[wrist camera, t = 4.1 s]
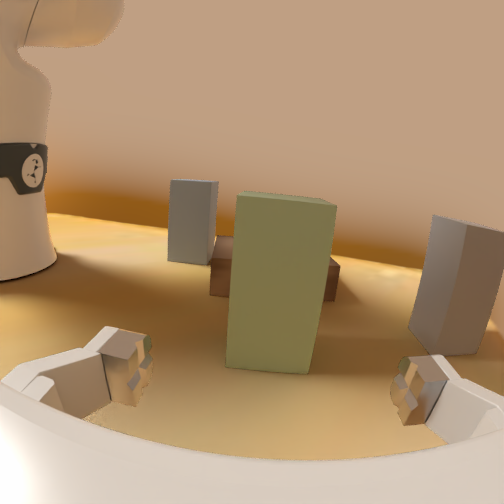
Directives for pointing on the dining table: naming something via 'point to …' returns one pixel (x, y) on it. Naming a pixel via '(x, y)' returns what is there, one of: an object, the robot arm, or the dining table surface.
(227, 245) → the walnut brick
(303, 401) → the dining table surface
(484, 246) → the grey block
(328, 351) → the dining table surface
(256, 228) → the green block
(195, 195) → the blue block
